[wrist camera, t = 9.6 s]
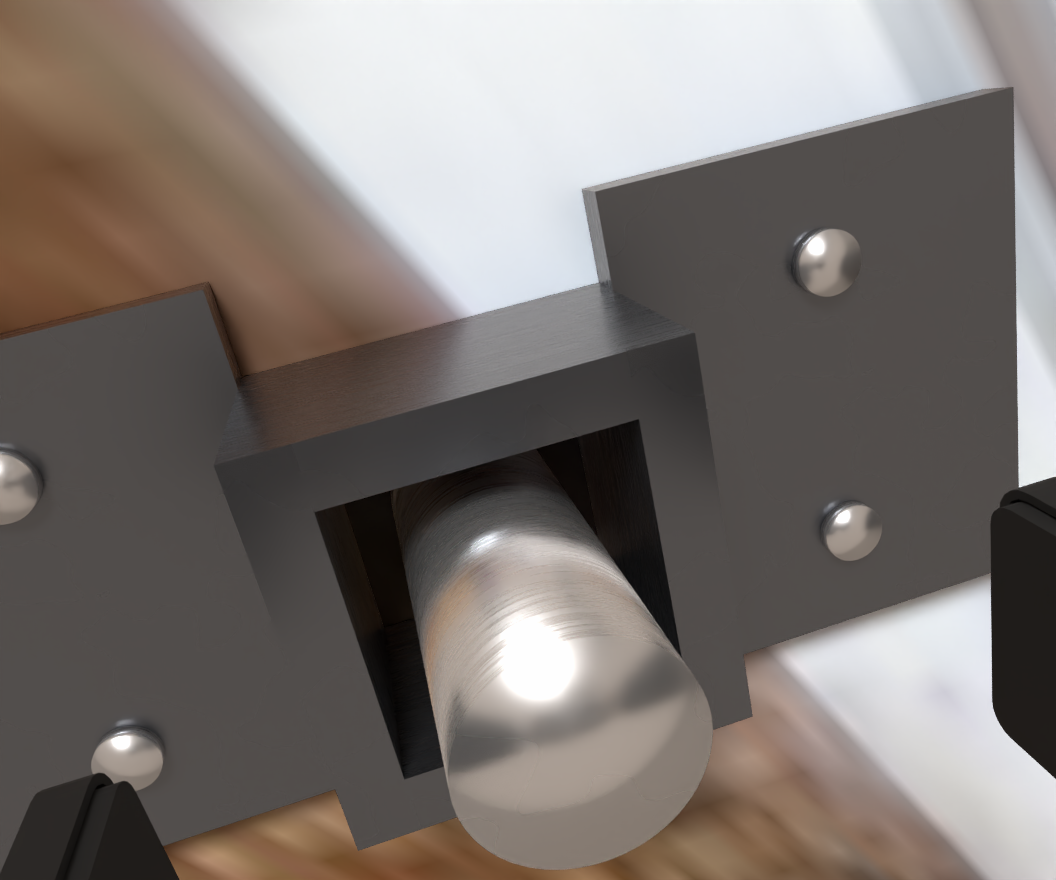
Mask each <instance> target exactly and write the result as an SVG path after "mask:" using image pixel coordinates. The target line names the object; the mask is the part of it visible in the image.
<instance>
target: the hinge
mask: <svg viewBox="0 0 1056 880" xmlns="http://www.w3.org/2000/svg"><path fill="white" fill-rule="evenodd" d="M582 192H583V197H584V203H585V208H586V213H587V219H588V224H589V230H590V235H591V240H592V246H593V251H594V256H595V262H596V267H597V272H598V278H599V283H596V284H592V285H588V286H584V287H581V288H577V289H573V290H569V291H565V292H562V293H558V294H554V295H550V296H547V297H543V298H539V299H535V300H531V301H528V302H524V303H520V304H516V305H512V306H509V307H505V308H501V309H497V310H494V311H490V312H486V313H482V314H478V315H475V316H471V317H467V318H463V319H460V320H456V321H452V322H448V323H444V324H441V325H437V326H433V327H429V328H425V329H422V330H418V331H414V332H410V333H407V334H403V335H399V336H395V337H391V338H388V339H384V340H380V341H376V342H373V343H369V344H365V345H361V346H357V347H354V348H350V349H346V350H342V351H338V352H335V353H331V354H327V355H323V356H320V357H316V358H312V359H308V360H304V361H301V362H297V363H293V364H289V365H285V366H282V367H278V368H274V369H270V370H267V371H263V372H259V373H255V374H251V375H248V376H244V377H242V376H241V373H240V370H239V368H238V365H237V362H236V359H235V356H234V353H233V350H232V347H231V345H230V342H229V339H228V336H227V333H226V330H225V327H224V325H223V322H222V319H221V316H220V313H219V310H218V307H217V304H216V302H215V299H214V296H213V293H212V290H211V287H210V284H209V282H207V283H203V284H199V285H195V286H190V287H186V288H182V289H178V290H174V291H170V292H166V293H162V294H158V295H154V296H150V297H146V298H142V299H138V300H134V301H130V302H126V303H122V304H118V305H114V306H110V307H106V308H102V309H98V310H94V311H90V312H86V313H82V314H78V315H74V316H70V317H66V318H62V319H58V320H54V321H50V322H46V323H42V324H38V325H34V326H30V327H26V328H22V329H18V330H14V331H10V332H6V333H2V334H0V872H1V870H2V868H3V865H4V863H5V861H6V858H7V856H8V854H9V851H10V849H11V847H12V844H13V842H14V840H15V837H16V835H17V833H18V830H19V828H20V826H21V823H22V821H23V819H24V816H25V814H26V812H27V809H28V807H29V805H30V802H31V801H32V799H33V797H34V796H35V794H36V793H38V792H40V791H41V790H44V789H47V788H50V787H53V786H57V785H60V784H63V783H66V782H70V781H73V780H76V779H79V778H82V777H86V776H89V775H92V774H95V773H104V774H106V775H107V776H108V777H109V778H110V779H111V780H112V782H113V783H114V784H115V783H118V782H121V781H127V782H129V783H130V784H131V785H132V786H133V788H134V790H135V791H136V793H137V795H138V797H139V799H140V801H141V803H142V805H143V807H144V809H145V811H146V813H147V815H148V817H149V819H150V821H151V823H152V825H153V827H154V829H155V831H156V833H157V836H158V838H159V840H160V842H161V844H162V846H165V845H168V844H171V843H174V842H177V841H180V840H183V839H186V838H189V837H192V836H195V835H198V834H201V833H204V832H207V831H210V830H213V829H216V828H219V827H222V826H225V825H228V824H231V823H234V822H237V821H240V820H243V819H246V818H249V817H252V816H256V815H259V814H262V813H265V812H268V811H271V810H274V809H277V808H280V807H283V806H286V805H289V804H292V803H295V802H298V801H301V800H304V799H307V798H310V797H313V796H316V795H319V794H322V793H325V792H328V791H331V790H334V789H335V790H336V793H337V796H338V798H339V801H340V804H341V806H342V809H343V812H344V814H345V817H346V820H347V822H348V825H349V828H350V830H351V833H352V836H353V838H354V841H355V844H356V846H357V849H358V851H359V850H362V849H365V848H368V847H371V846H374V845H376V844H379V843H382V842H385V841H388V840H391V839H394V838H397V837H400V836H403V835H406V834H409V833H412V832H415V831H418V830H421V829H423V828H426V827H429V826H432V825H435V824H438V823H441V822H444V821H447V820H450V819H453V818H456V817H457V815H456V812H455V810H454V807H453V805H452V802H451V797H450V793H449V788H448V783H447V778H446V773H445V768H444V763H443V758H442V753H441V748H440V743H439V738H438V733H437V728H436V723H435V718H434V713H433V708H432V703H431V698H430V693H429V688H428V683H427V678H426V673H425V668H424V663H423V658H422V653H421V648H420V643H419V638H418V633H417V628H416V623H415V619H411V620H408V621H405V622H402V623H398V624H395V625H392V626H389V627H385V628H384V626H383V623H382V619H381V616H380V613H379V610H378V607H377V604H376V601H375V598H374V595H373V591H372V588H371V585H370V582H369V579H368V576H367V573H366V570H365V567H364V564H363V560H362V557H361V554H360V551H359V548H358V545H357V542H356V539H355V536H354V533H353V529H352V526H351V523H350V520H349V517H348V514H347V511H346V508H345V505H344V504H345V503H348V502H352V501H355V500H359V499H362V498H366V497H369V496H373V495H376V494H380V493H383V492H387V491H390V490H394V489H397V488H401V487H404V486H408V485H411V484H415V483H418V482H421V481H425V480H428V479H432V478H435V477H439V476H442V475H446V474H449V473H453V472H456V471H460V470H463V469H467V468H470V467H474V466H477V465H481V464H484V463H488V462H491V461H495V460H498V459H501V458H505V457H508V456H512V455H515V454H519V453H522V452H526V451H529V450H533V449H536V448H540V447H543V446H547V445H550V444H554V443H557V442H561V441H564V440H568V439H571V438H575V437H577V439H578V444H579V448H580V453H581V458H582V463H583V468H584V472H585V477H586V482H587V487H588V492H589V496H590V501H591V506H592V511H593V515H594V520H595V525H596V530H597V535H598V539H599V540H600V542H601V543H602V545H603V546H604V548H605V549H606V550H607V552H608V553H609V555H610V556H611V558H612V559H613V560H614V562H615V563H616V565H617V566H618V568H619V569H620V571H621V572H622V573H623V575H624V576H625V578H626V579H627V581H628V582H629V583H630V585H631V586H632V588H633V589H634V591H635V592H636V594H637V595H638V596H639V598H640V599H641V601H642V602H643V604H644V605H645V606H646V608H647V609H648V611H649V612H650V614H651V615H652V616H653V618H654V619H655V621H656V622H657V624H658V625H659V627H660V628H661V629H662V631H663V632H664V634H665V635H666V637H667V638H668V639H669V641H670V642H671V644H672V645H673V647H674V648H675V649H676V651H677V652H678V654H679V655H680V657H681V658H682V660H683V661H684V662H685V664H686V665H687V667H688V668H689V670H690V671H691V672H692V674H693V675H694V677H695V678H696V680H697V681H698V683H699V684H700V686H701V688H702V689H703V691H704V694H705V696H706V698H707V701H708V704H709V708H710V712H711V716H712V726H713V730H714V729H717V728H720V727H723V726H726V725H729V724H732V723H735V722H738V721H741V720H744V719H747V718H750V717H752V709H751V702H750V696H749V689H748V682H747V676H746V669H745V662H744V656H743V654H746V653H749V652H753V651H756V650H759V649H762V648H765V647H768V646H771V645H774V644H777V643H780V642H783V641H786V640H789V639H792V638H795V637H798V636H801V635H804V634H807V633H810V632H813V631H816V630H819V629H822V628H825V627H828V626H831V625H834V624H837V623H840V622H843V621H846V620H849V619H853V618H856V617H859V616H862V615H865V614H868V613H871V612H874V611H877V610H880V609H883V608H886V607H889V606H892V605H895V604H898V603H901V602H904V601H907V600H910V599H913V598H916V597H919V596H922V595H925V594H928V593H931V592H934V591H937V590H940V589H943V588H946V587H949V586H953V585H956V584H959V583H962V582H965V581H968V580H971V579H974V578H977V577H980V576H983V575H986V574H989V573H991V535H990V523H991V516H992V514H993V512H994V511H995V510H997V509H998V508H1000V502H1001V500H1002V498H1003V496H1004V494H1006V493H1007V492H1009V491H1010V490H1014V489H1017V488H1019V483H1018V406H1017V330H1016V253H1015V176H1014V100H1013V87H1007V88H993V89H982V90H978V91H974V92H970V93H966V94H962V95H958V96H954V97H950V98H946V99H942V100H938V101H934V102H930V103H926V104H921V105H917V106H913V107H909V108H905V109H901V110H897V111H893V112H889V113H885V114H881V115H877V116H873V117H869V118H865V119H861V120H857V121H853V122H849V123H845V124H841V125H837V126H833V127H829V128H825V129H821V130H817V131H813V132H809V133H805V134H801V135H797V136H793V137H789V138H785V139H781V140H777V141H773V142H769V143H765V144H761V145H757V146H753V147H749V148H745V149H741V150H737V151H733V152H729V153H725V154H721V155H717V156H713V157H709V158H705V159H701V160H697V161H693V162H689V163H685V164H680V165H676V166H672V167H668V168H664V169H660V170H656V171H652V172H648V173H644V174H640V175H636V176H632V177H628V178H624V179H620V180H616V181H612V182H608V183H604V184H600V185H596V186H592V187H588V188H584V189H582Z"/></svg>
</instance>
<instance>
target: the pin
mask: <svg viewBox="0 0 1056 880" xmlns="http://www.w3.org/2000/svg"><path fill="white" fill-rule="evenodd" d="M391 503H392V508H393V513H394V518H395V523H396V528H397V533H398V538H399V543H400V548H401V553H402V558H403V563H404V568H405V573H406V578H407V583H408V588H409V593H410V598H411V603H412V608H413V613H414V618H415V623H416V628H417V633H418V638H419V643H420V648H421V653H422V658H423V663H424V668H425V673H426V678H427V683H428V688H429V693H430V698H431V703H432V708H433V713H434V718H435V723H436V728H437V733H438V738H439V743H440V748H441V753H442V758H443V763H444V768H445V773H446V778H447V783H448V788H449V793H450V797H451V802H452V805H453V807H454V810H455V812H456V815H457V817H458V819H459V820H460V822H461V824H462V825H463V827H464V828H465V830H466V831H467V832H468V833H469V834H470V836H471V837H472V838H473V839H474V840H475V841H476V842H477V843H479V844H480V845H481V846H482V847H483V848H485V849H486V850H487V851H489V852H491V853H492V854H494V855H496V856H498V857H499V858H502V859H504V860H507V861H509V862H511V863H514V864H518V865H522V866H525V867H530V868H537V869H548V870H563V869H575V868H581V867H586V866H591V865H595V864H598V863H602V862H605V861H608V860H611V859H613V858H616V857H618V856H620V855H623V854H625V853H627V852H629V851H631V850H633V849H635V848H636V847H638V846H640V845H642V844H643V843H645V842H646V841H648V840H649V839H651V838H652V837H654V836H655V835H656V834H657V833H659V832H660V831H661V830H662V829H663V828H665V827H666V826H667V825H668V824H669V823H670V822H671V821H672V820H673V819H674V818H675V817H676V816H677V815H678V814H679V813H680V811H681V810H682V809H683V808H684V807H685V805H686V804H687V803H688V802H689V800H690V798H691V797H692V795H693V794H694V792H695V791H696V789H697V787H698V785H699V783H700V781H701V779H702V777H703V775H704V773H705V770H706V767H707V764H708V761H709V757H710V752H711V747H712V737H713V726H712V716H711V712H710V708H709V704H708V701H707V698H706V696H705V694H704V691H703V689H702V688H701V686H700V684H699V683H698V681H697V680H696V678H695V677H694V675H693V674H692V672H691V671H690V670H689V668H688V667H687V665H686V664H685V662H684V661H683V660H682V658H681V657H680V655H679V654H678V652H677V651H676V649H675V648H674V647H673V645H672V644H671V642H670V641H669V639H668V638H667V637H666V635H665V634H664V632H663V631H662V629H661V628H660V627H659V625H658V624H657V622H656V621H655V619H654V618H653V616H652V615H651V614H650V612H649V611H648V609H647V608H646V606H645V605H644V604H643V602H642V601H641V599H640V598H639V596H638V595H637V594H636V592H635V591H634V589H633V588H632V586H631V585H630V583H629V582H628V581H627V579H626V578H625V576H624V575H623V573H622V572H621V571H620V569H619V568H618V566H617V565H616V563H615V562H614V560H613V559H612V558H611V556H610V555H609V553H608V552H607V550H606V549H605V548H604V546H603V545H602V543H601V542H600V540H599V539H598V538H597V536H596V535H595V533H594V532H593V530H592V529H591V527H590V526H589V525H588V523H587V522H586V520H585V519H584V517H583V516H582V515H581V513H580V512H579V510H578V509H577V507H576V506H575V504H574V503H573V502H572V500H571V499H570V497H569V496H568V494H567V493H566V492H565V490H564V489H563V487H562V486H561V484H560V483H559V482H558V480H557V479H556V477H555V476H554V474H553V473H552V471H551V470H550V469H549V467H548V466H547V464H546V463H545V461H544V460H543V459H542V457H541V456H540V454H539V453H538V451H537V450H536V449H533V450H529V451H526V452H522V453H519V454H515V455H512V456H508V457H505V458H501V459H498V460H495V461H491V462H488V463H484V464H481V465H477V466H474V467H470V468H467V469H463V470H460V471H456V472H453V473H449V474H446V475H442V476H439V477H435V478H432V479H428V480H425V481H421V482H418V483H415V484H411V485H408V486H404V487H401V488H397V489H394V490H391Z"/></svg>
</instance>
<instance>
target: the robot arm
mask: <svg viewBox="0 0 1056 880" xmlns="http://www.w3.org/2000/svg"><path fill="white" fill-rule="evenodd" d="M990 535H991V625H992V702H993V709H994V712H995V715H996V717H997V719H998V721H999V723H1000V725H1001V726H1002V728H1003V729H1004V731H1005V732H1006V733H1007V734H1008V735H1009V737H1010V738H1011V739H1013V740H1014V741H1015V742H1016V743H1017V744H1018V745H1019V746H1020V747H1021V748H1022V749H1024V750H1025V751H1026V752H1027V753H1028V754H1029V755H1030V756H1031V757H1032V758H1033V759H1035V760H1036V761H1037V762H1038V763H1039V764H1040V765H1041V766H1042V767H1043V768H1044V769H1046V770H1047V771H1048V772H1049V773H1050V774H1051V775H1052V776H1053V777H1054V778H1055V779H1056V477H1052V478H1049V479H1046V480H1043V481H1039V482H1036V483H1033V484H1030V485H1026V486H1023V487H1020V488H1017V489H1014V490H1010V491H1009V492H1007V493H1006V494H1004V496H1003V498H1002V500H1001V502H1000V508H998V509H997V510H995V511H994V512H993V514H992V516H991V523H990ZM0 880H179V878H178V876H177V874H176V872H175V870H174V868H173V866H172V864H171V862H170V860H169V858H168V856H167V854H166V852H165V850H164V848H163V846H162V844H161V842H160V840H159V838H158V836H157V833H156V831H155V829H154V827H153V825H152V823H151V821H150V819H149V817H148V815H147V813H146V811H145V809H144V807H143V805H142V803H141V801H140V799H139V797H138V795H137V793H136V791H135V790H134V788H133V786H132V785H131V784H130V783H129V782H127V781H121V782H118V783H115V784H114V783H113V782H112V780H111V779H110V778H109V777H108V776H107V775H106V774H104V773H95V774H92V775H89V776H86V777H82V778H79V779H76V780H73V781H70V782H66V783H63V784H60V785H57V786H53V787H50V788H47V789H44V790H41V791H40V792H38V793H36V794H35V796H34V797H33V799H32V801H31V802H30V805H29V807H28V809H27V812H26V814H25V816H24V819H23V821H22V823H21V826H20V828H19V830H18V833H17V835H16V837H15V840H14V842H13V844H12V847H11V849H10V851H9V854H8V856H7V858H6V861H5V863H4V865H3V868H2V870H1V872H0Z"/></svg>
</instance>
